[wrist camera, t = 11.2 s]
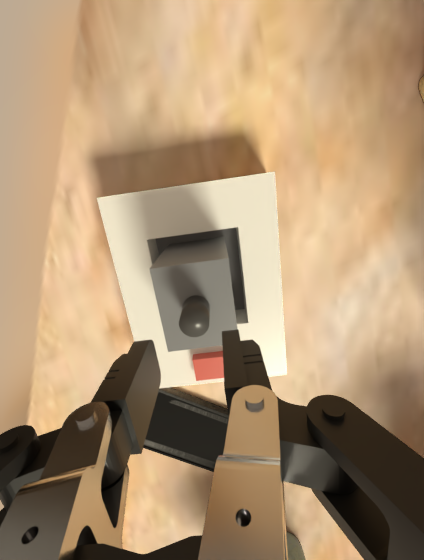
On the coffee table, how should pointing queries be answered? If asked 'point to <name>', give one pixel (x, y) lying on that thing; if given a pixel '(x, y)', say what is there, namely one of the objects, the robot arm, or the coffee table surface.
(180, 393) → the phone
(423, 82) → the grandmother figurine
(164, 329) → the plug
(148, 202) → the socket plate
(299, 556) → the green cup
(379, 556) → the robot arm
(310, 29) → the coffee table surface
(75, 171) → the coffee table surface
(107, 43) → the coffee table surface
